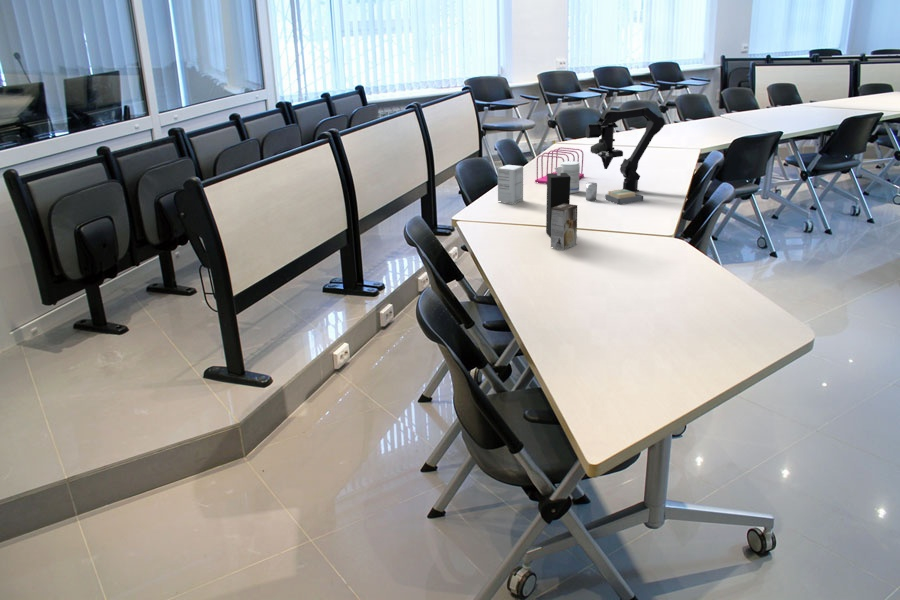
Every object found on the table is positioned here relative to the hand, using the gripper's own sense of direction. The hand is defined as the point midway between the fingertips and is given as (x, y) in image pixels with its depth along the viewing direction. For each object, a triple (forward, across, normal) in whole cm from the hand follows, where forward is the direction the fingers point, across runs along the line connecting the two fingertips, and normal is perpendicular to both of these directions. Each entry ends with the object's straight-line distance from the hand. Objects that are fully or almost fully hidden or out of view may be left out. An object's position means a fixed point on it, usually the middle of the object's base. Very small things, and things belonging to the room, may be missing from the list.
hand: (605, 168), depth 359 cm
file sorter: (+12, -38, -2) cm, 40 cm away
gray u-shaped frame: (+12, +18, -2) cm, 21 cm away
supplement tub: (+12, -12, -13) cm, 21 cm away
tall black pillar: (+12, +48, -61) cm, 79 cm away
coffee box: (+12, +63, -68) cm, 93 cm away
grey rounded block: (+12, +8, -14) cm, 20 cm away
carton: (+12, +17, -3) cm, 21 cm away
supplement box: (+12, -11, -48) cm, 51 cm away
